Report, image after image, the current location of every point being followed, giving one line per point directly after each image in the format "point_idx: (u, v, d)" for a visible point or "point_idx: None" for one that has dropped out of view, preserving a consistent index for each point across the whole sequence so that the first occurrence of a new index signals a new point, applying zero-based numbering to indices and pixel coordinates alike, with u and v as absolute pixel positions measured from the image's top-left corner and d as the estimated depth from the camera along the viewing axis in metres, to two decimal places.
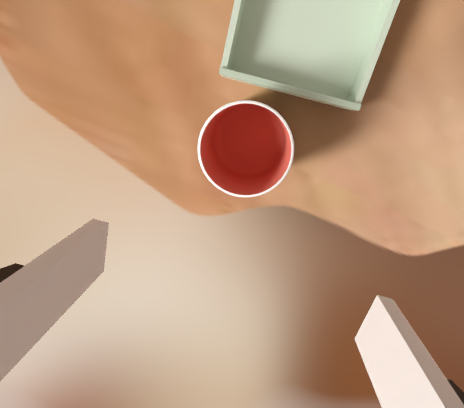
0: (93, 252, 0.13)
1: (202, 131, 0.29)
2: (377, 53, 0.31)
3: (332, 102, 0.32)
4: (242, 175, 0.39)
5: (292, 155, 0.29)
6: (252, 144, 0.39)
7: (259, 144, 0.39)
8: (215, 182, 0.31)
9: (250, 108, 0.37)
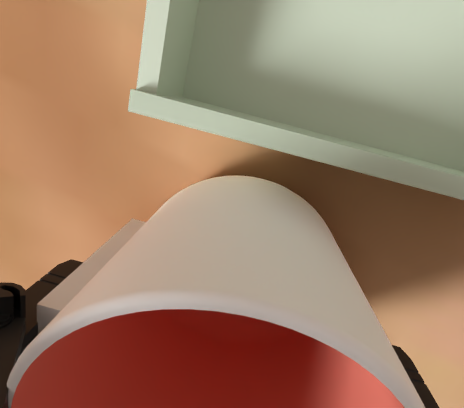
0: None
1: (8, 397, 0.06)
2: None
3: None
4: (223, 341, 0.16)
5: None
6: None
7: None
8: None
9: None
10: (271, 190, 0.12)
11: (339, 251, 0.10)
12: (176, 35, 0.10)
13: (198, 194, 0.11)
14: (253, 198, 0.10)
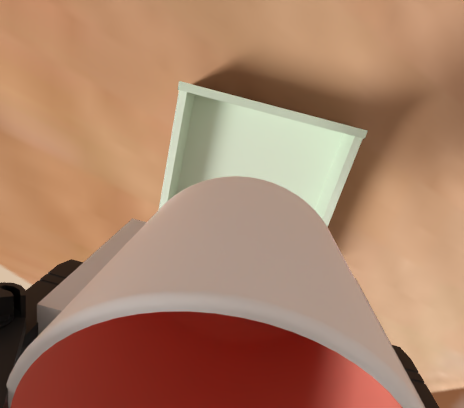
0: None
1: None
2: None
3: None
4: (223, 342, 0.16)
5: None
6: None
7: None
8: None
9: None
10: (271, 191, 0.12)
11: (339, 252, 0.10)
12: None
13: (198, 195, 0.11)
14: (253, 199, 0.10)
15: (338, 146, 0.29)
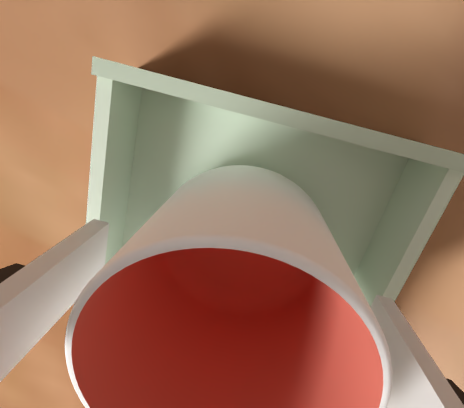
0: (94, 252, 0.13)
1: (72, 322, 0.09)
2: None
3: None
4: (227, 313, 0.18)
5: None
6: None
7: None
8: None
9: None
10: (269, 176, 0.14)
11: (325, 225, 0.12)
12: None
13: (208, 179, 0.13)
14: (254, 181, 0.12)
15: (398, 178, 0.16)
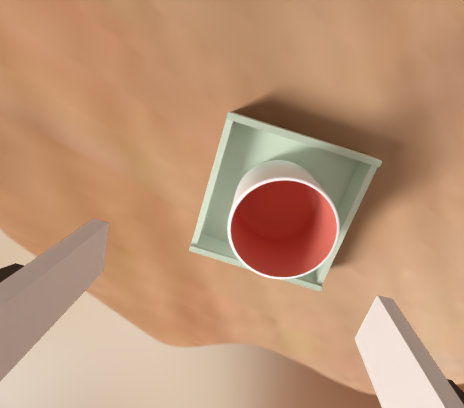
0: (93, 252, 0.13)
1: (235, 206, 0.26)
2: (337, 246, 0.33)
3: (295, 282, 0.34)
4: (267, 237, 0.35)
5: (337, 239, 0.26)
6: (279, 204, 0.35)
7: (287, 204, 0.35)
8: (244, 260, 0.27)
9: None
10: (295, 165, 0.31)
11: None
12: (202, 227, 0.35)
13: (270, 164, 0.30)
14: (291, 166, 0.30)
15: (355, 170, 0.34)
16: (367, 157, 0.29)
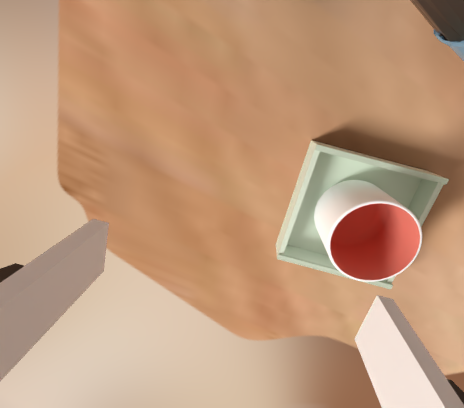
0: (93, 252, 0.13)
1: (335, 225, 0.32)
2: None
3: (369, 282, 0.40)
4: (341, 244, 0.41)
5: (419, 248, 0.31)
6: (351, 216, 0.41)
7: (358, 216, 0.41)
8: (339, 267, 0.33)
9: None
10: (371, 184, 0.37)
11: None
12: None
13: (351, 185, 0.36)
14: (370, 186, 0.35)
15: (418, 185, 0.39)
16: (435, 177, 0.35)
